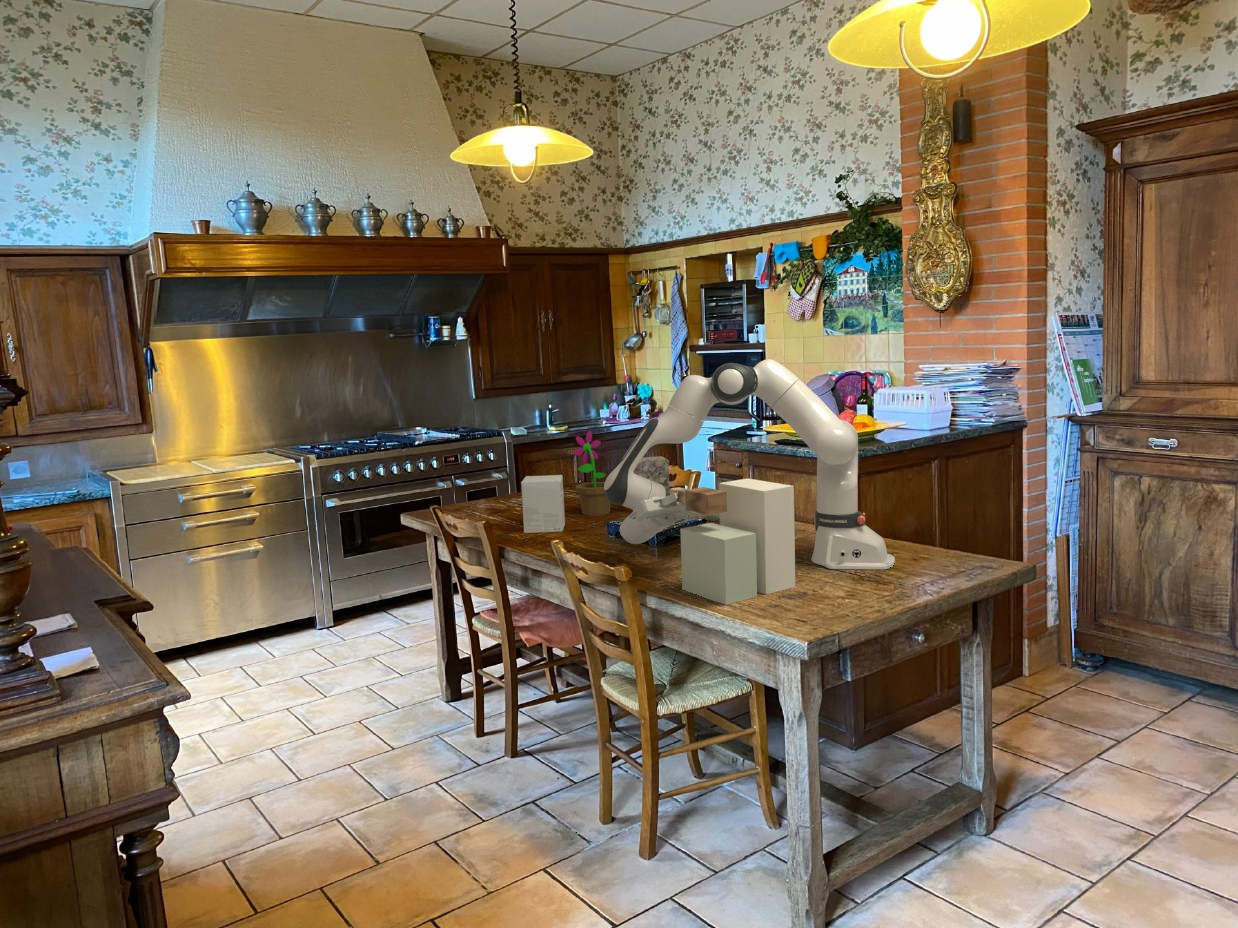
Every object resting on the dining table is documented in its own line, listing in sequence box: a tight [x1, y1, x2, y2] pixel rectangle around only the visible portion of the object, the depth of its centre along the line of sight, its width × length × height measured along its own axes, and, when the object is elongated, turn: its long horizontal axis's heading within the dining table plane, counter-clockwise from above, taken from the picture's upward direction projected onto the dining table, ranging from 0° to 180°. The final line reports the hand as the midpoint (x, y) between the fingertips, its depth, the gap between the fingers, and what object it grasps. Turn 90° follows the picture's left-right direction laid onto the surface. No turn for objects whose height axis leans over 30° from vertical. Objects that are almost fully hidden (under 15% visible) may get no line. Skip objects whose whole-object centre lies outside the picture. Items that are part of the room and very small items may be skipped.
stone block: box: [634, 455, 670, 496], centre depth 332 cm, size 13×7×20 cm, turn 118°
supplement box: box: [520, 474, 566, 534], centre depth 312 cm, size 13×13×18 cm
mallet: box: [669, 486, 727, 515], centre depth 232 cm, size 18×6×5 cm, turn 34°
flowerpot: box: [572, 430, 612, 517], centre depth 334 cm, size 14×14×30 cm
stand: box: [680, 478, 796, 606], centre depth 231 cm, size 17×23×26 cm
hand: (684, 494), depth 236 cm, fingers closed on mallet, 3 cm apart
